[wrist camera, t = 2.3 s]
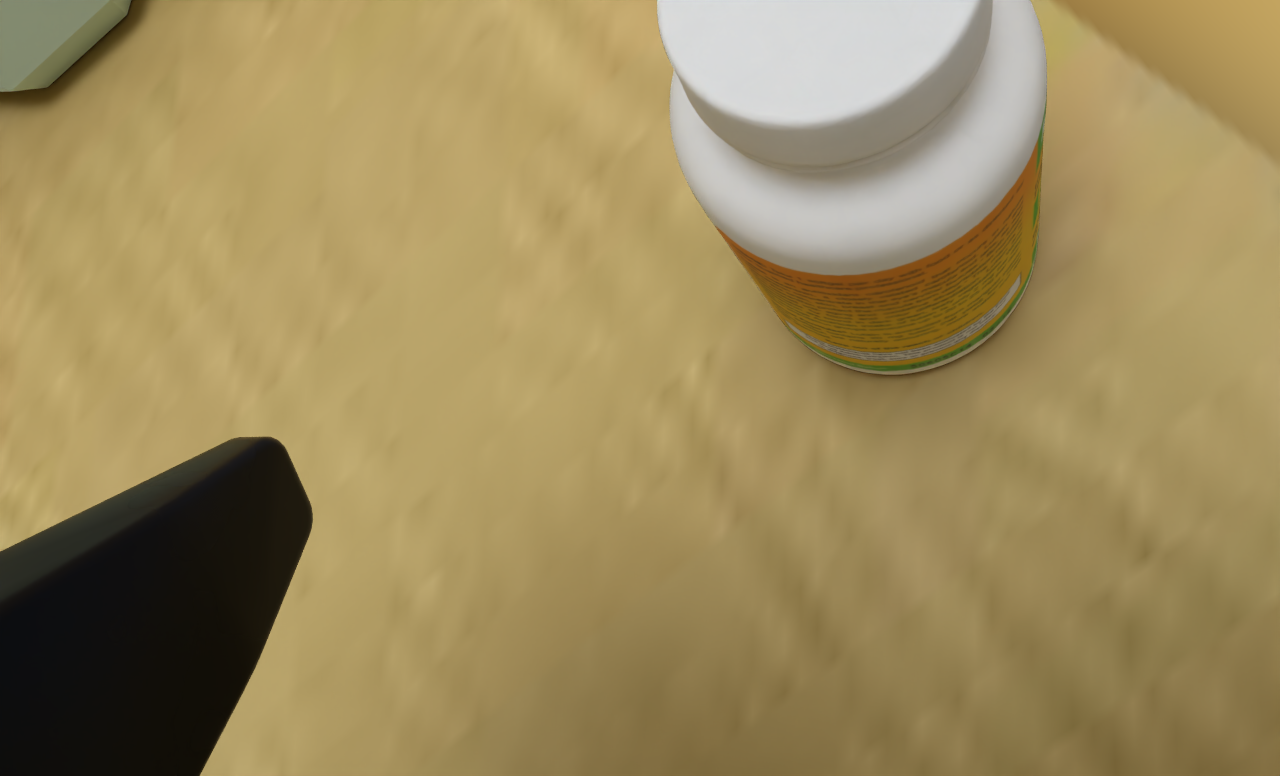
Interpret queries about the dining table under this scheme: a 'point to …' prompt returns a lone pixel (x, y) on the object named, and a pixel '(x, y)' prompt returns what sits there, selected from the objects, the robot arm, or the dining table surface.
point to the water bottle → (50, 37)
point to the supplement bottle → (867, 163)
